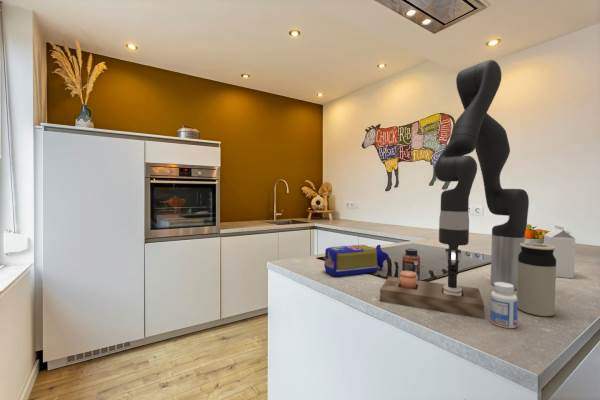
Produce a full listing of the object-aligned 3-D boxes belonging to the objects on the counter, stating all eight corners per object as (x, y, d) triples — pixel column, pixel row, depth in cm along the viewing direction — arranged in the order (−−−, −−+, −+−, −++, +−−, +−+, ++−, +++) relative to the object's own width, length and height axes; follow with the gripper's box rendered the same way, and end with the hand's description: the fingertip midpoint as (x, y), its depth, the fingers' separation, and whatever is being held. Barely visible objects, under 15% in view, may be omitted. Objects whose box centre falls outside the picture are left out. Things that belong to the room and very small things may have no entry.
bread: (321, 271, 117) (322, 246, 117) (373, 265, 126) (373, 242, 126) (333, 278, 107) (334, 251, 107) (388, 272, 117) (389, 246, 116)
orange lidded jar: (416, 287, 90) (417, 271, 90) (415, 292, 86) (415, 275, 86) (401, 285, 92) (401, 269, 92) (399, 289, 88) (399, 273, 88)
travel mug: (543, 319, 74) (545, 249, 73) (510, 307, 81) (512, 243, 81) (560, 314, 77) (563, 246, 77) (527, 303, 84) (529, 241, 84)
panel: (478, 300, 87) (478, 288, 87) (483, 318, 74) (484, 305, 74) (388, 286, 98) (388, 276, 98) (380, 300, 86) (380, 289, 86)
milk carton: (550, 276, 111) (551, 226, 110) (542, 271, 117) (544, 224, 117) (574, 279, 108) (575, 228, 107) (565, 273, 115) (566, 225, 114)
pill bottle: (506, 318, 74) (507, 280, 74) (522, 328, 69) (524, 288, 69) (485, 318, 74) (486, 280, 74) (500, 328, 69) (501, 288, 69)
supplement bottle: (421, 283, 102) (421, 251, 102) (403, 282, 103) (404, 250, 103) (417, 278, 108) (418, 248, 108) (401, 277, 109) (401, 247, 109)
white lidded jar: (461, 302, 85) (461, 285, 85) (461, 308, 81) (462, 290, 80) (443, 299, 87) (443, 283, 87) (443, 305, 83) (443, 288, 83)
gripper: (470, 230, 75) (468, 296, 76) (467, 225, 87) (465, 282, 88) (438, 228, 79) (437, 292, 79) (439, 223, 91) (438, 279, 91)
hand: (452, 287), depth 84 cm, fingers closed
